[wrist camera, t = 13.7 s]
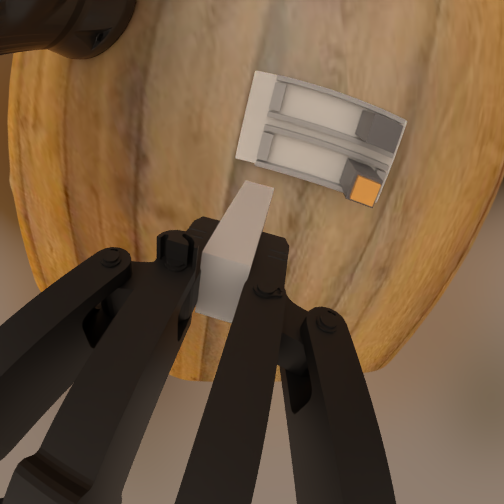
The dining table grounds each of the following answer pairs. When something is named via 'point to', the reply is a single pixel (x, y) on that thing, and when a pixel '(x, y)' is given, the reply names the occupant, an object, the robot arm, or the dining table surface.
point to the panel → (315, 131)
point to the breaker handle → (360, 183)
